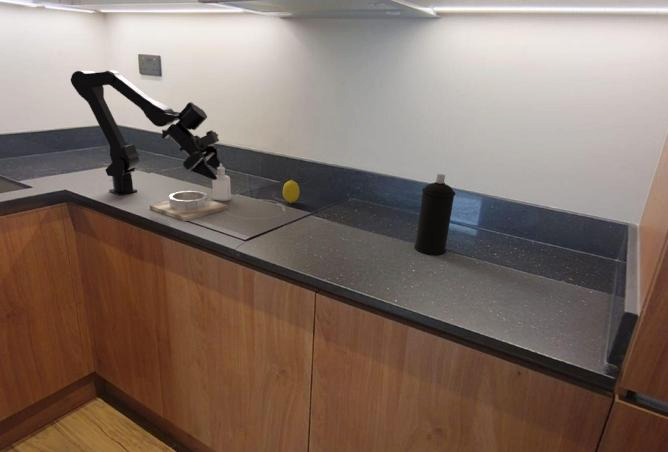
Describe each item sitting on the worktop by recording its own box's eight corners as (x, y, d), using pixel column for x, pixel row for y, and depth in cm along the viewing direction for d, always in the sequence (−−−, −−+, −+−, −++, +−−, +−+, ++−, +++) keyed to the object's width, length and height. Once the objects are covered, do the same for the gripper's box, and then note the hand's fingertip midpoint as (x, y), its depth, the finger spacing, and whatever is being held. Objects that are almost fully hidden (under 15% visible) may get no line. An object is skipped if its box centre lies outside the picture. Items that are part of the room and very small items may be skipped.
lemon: (296, 206, 140) (297, 182, 137) (280, 204, 141) (280, 180, 138) (300, 201, 145) (301, 179, 142) (285, 200, 146) (285, 177, 143)
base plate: (149, 209, 128) (149, 205, 128) (193, 198, 141) (193, 195, 140) (184, 221, 120) (184, 217, 120) (227, 209, 133) (227, 205, 132)
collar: (162, 205, 128) (161, 195, 127) (191, 198, 137) (191, 189, 136) (185, 213, 123) (185, 203, 122) (215, 205, 132) (215, 195, 131)
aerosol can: (440, 258, 106) (452, 180, 100) (409, 250, 110) (419, 174, 104) (450, 248, 113) (462, 174, 106) (420, 240, 117) (431, 169, 110)
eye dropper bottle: (222, 202, 139) (221, 166, 135) (211, 198, 142) (209, 163, 138) (232, 199, 142) (231, 164, 138) (221, 196, 145) (220, 161, 141)
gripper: (190, 126, 125) (228, 165, 128) (212, 119, 143) (245, 154, 146) (166, 151, 128) (204, 189, 131) (190, 141, 146) (223, 175, 149)
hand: (220, 175), depth 139 cm, fingers open, 9 cm apart
